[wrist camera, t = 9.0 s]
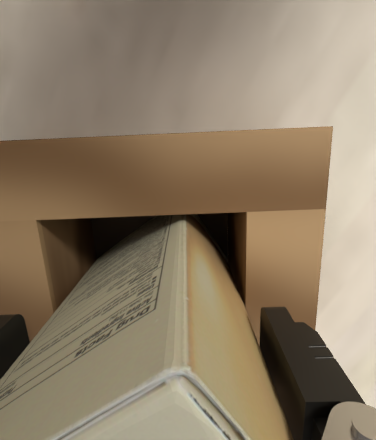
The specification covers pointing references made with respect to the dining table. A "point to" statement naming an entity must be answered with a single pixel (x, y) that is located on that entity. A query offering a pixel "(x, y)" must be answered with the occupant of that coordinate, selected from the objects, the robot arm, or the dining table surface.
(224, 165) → the socket block
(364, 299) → the dining table surface
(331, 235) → the dining table surface
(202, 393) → the skincare box
